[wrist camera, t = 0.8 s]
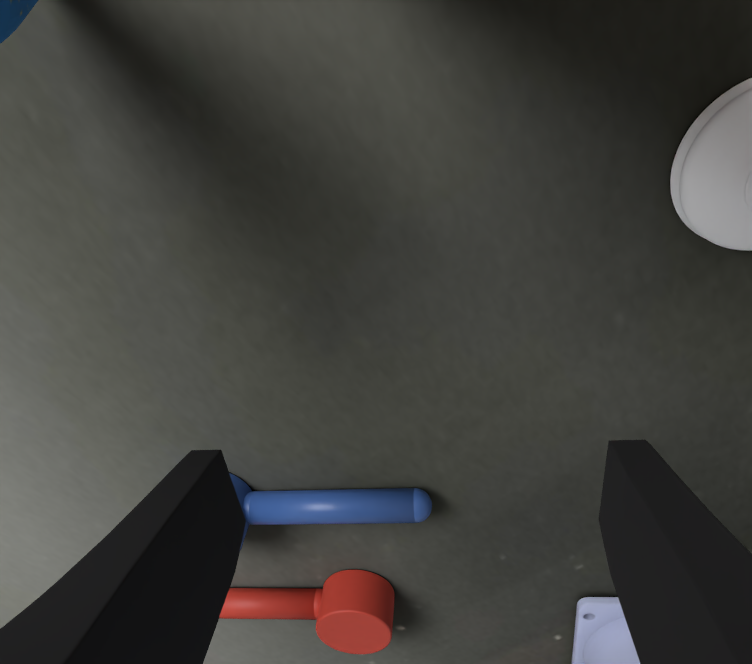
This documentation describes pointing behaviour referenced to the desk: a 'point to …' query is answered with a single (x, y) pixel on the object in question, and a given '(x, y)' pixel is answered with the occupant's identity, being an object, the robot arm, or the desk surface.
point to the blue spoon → (331, 506)
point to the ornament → (13, 15)
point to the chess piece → (718, 171)
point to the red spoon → (327, 609)
